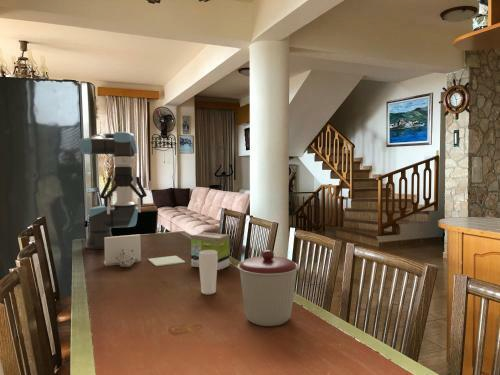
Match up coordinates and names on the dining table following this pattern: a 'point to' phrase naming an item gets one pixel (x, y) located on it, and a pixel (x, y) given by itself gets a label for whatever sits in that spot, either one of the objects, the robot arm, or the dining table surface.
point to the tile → (166, 260)
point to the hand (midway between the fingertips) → (124, 213)
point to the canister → (268, 288)
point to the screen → (121, 248)
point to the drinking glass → (208, 270)
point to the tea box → (210, 247)
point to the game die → (126, 258)
